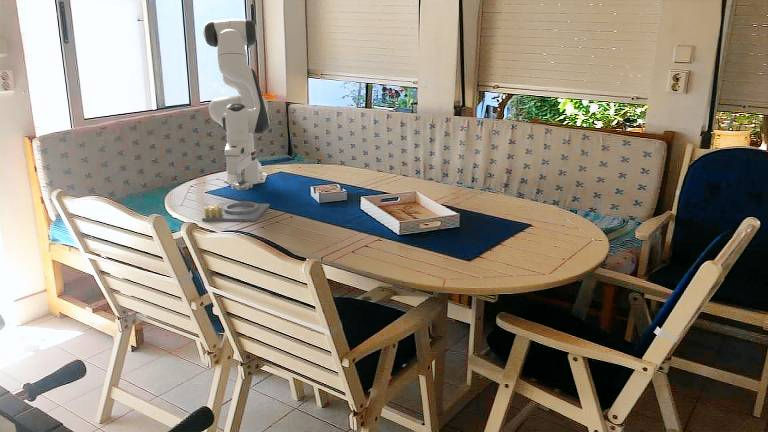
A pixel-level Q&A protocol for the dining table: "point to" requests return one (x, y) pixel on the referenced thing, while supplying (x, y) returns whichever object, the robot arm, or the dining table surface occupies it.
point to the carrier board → (235, 211)
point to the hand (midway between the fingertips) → (241, 179)
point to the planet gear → (241, 184)
